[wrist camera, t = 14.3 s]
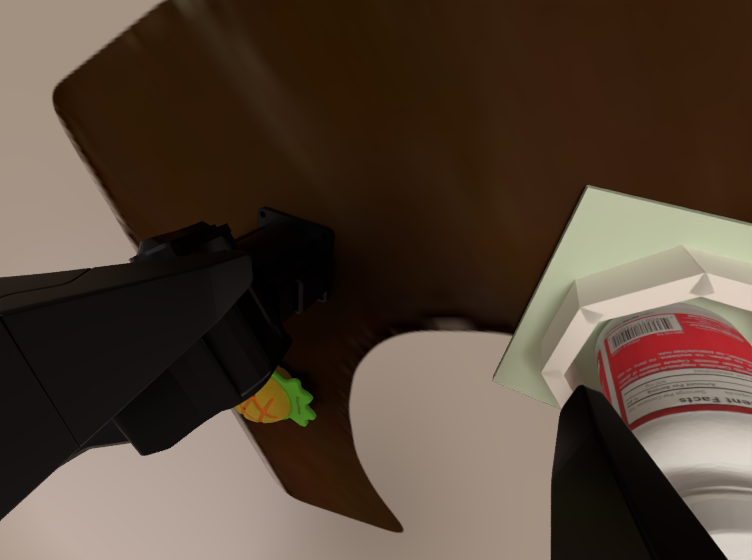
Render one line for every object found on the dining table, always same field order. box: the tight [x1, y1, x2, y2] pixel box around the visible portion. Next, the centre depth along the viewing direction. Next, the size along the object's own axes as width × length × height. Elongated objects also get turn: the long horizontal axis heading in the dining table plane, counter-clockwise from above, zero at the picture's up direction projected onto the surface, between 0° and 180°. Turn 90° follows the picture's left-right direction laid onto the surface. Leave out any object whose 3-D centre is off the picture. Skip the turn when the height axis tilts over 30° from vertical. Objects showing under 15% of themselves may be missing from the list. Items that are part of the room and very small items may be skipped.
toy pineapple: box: [235, 365, 316, 426], centre depth 33 cm, size 7×10×5 cm
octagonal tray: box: [493, 185, 752, 409], centre depth 17 cm, size 14×14×4 cm
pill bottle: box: [595, 303, 752, 560], centre depth 14 cm, size 6×6×11 cm
